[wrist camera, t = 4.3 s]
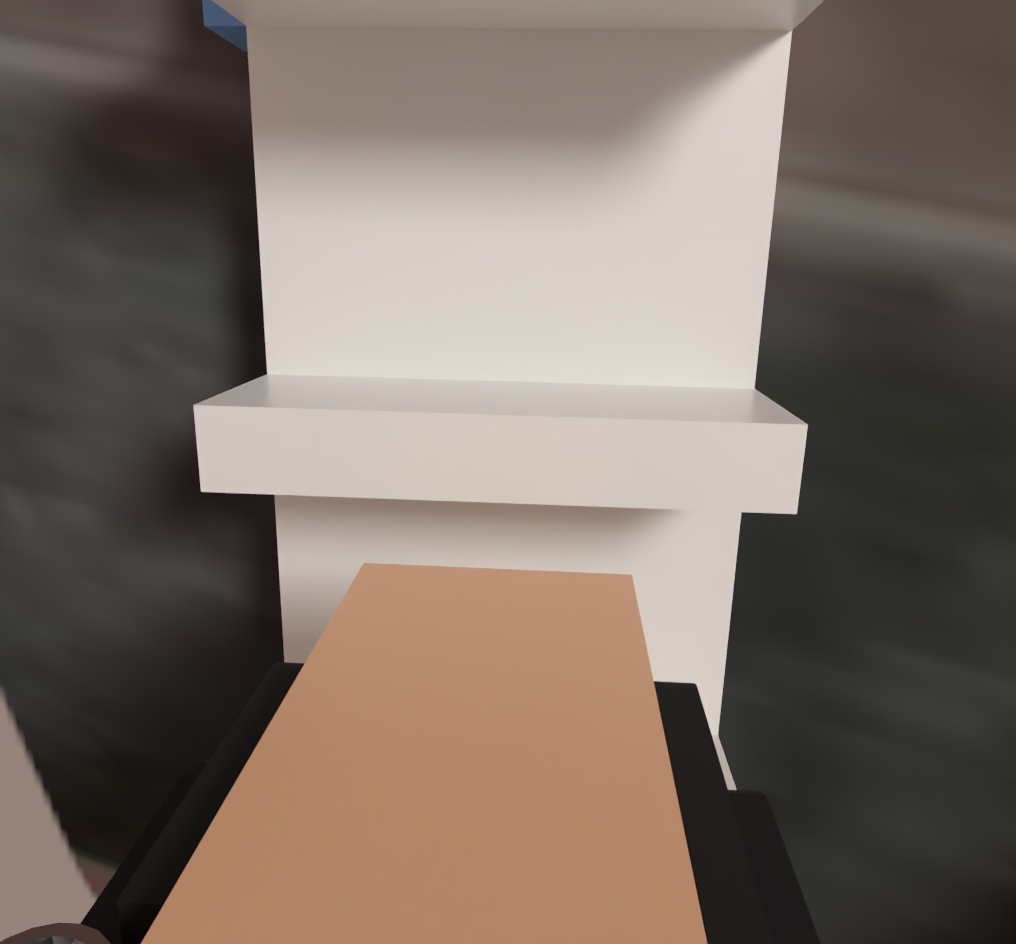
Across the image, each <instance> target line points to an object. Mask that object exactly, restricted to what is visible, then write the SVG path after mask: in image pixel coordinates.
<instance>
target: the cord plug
mask: <svg viewBox="0 0 1016 944" xmlns="http://www.w3.org/2000/svg"><path fill="white" fill-rule="evenodd" d="M141 944H707V939H706V934H705V930H704V925H703V920H702V915H701V910H700V905H699V900H698V895H697V890H696V886H695V881H694V876H693V871H692V866H691V861H690V856H689V851H688V847H687V842H686V837H685V832H684V827H683V822H682V817H681V812H680V808H679V803H678V798H677V793H676V788H675V783H674V778H673V773H672V768H671V764H670V759H669V754H668V749H667V744H666V739H665V734H664V729H663V725H662V720H661V715H660V710H659V705H658V700H657V695H656V690H655V685H654V681H653V676H652V671H651V666H650V661H649V656H648V651H647V646H646V642H645V637H644V632H643V627H642V622H641V617H640V612H639V607H638V603H637V598H636V593H635V588H634V583H633V578H632V575H629V574H606V573H584V572H561V571H538V570H516V569H493V568H470V567H447V566H425V565H402V564H379V563H363V565H362V567H361V568H360V570H359V572H358V573H357V575H356V577H355V578H354V580H353V582H352V584H351V585H350V587H349V589H348V590H347V592H346V594H345V596H344V597H343V599H342V601H341V602H340V604H339V606H338V608H337V609H336V611H335V613H334V614H333V616H332V618H331V620H330V621H329V623H328V625H327V626H326V628H325V630H324V631H323V633H322V635H321V637H320V638H319V640H318V642H317V643H316V645H315V647H314V649H313V650H312V652H311V654H310V655H309V657H308V659H307V661H306V662H305V664H304V666H303V667H302V669H301V671H300V672H299V674H298V676H297V678H296V679H295V681H294V683H293V684H292V686H291V688H290V690H289V691H288V693H287V695H286V696H285V698H284V700H283V702H282V703H281V705H280V707H279V708H278V710H277V712H276V714H275V715H274V717H273V719H272V720H271V722H270V724H269V725H268V727H267V729H266V731H265V732H264V734H263V736H262V737H261V739H260V741H259V743H258V744H257V746H256V748H255V749H254V751H253V753H252V755H251V756H250V758H249V760H248V761H247V763H246V765H245V766H244V768H243V770H242V772H241V773H240V775H239V777H238V778H237V780H236V782H235V784H234V785H233V787H232V789H231V790H230V792H229V794H228V796H227V797H226V799H225V801H224V802H223V804H222V806H221V808H220V809H219V811H218V813H217V814H216V816H215V818H214V819H213V821H212V823H211V825H210V826H209V828H208V830H207V831H206V833H205V835H204V837H203V838H202V840H201V842H200V843H199V845H198V847H197V849H196V850H195V852H194V854H193V855H192V857H191V859H190V860H189V862H188V864H187V866H186V867H185V869H184V871H183V872H182V874H181V876H180V878H179V879H178V881H177V883H176V884H175V886H174V888H173V890H172V891H171V893H170V895H169V896H168V898H167V900H166V902H165V903H164V905H163V907H162V908H161V910H160V912H159V913H158V915H157V917H156V919H155V920H154V922H153V924H152V925H151V927H150V929H149V931H148V932H147V934H146V936H145V937H144V939H143V941H142V943H141Z"/></svg>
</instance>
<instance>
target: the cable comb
mask: <svg viewBox="0 0 1016 944" xmlns="http://www.w3.org/2000/svg"><path fill="white" fill-rule="evenodd" d="M823 1H824V0H202V5H203V19H204V26H205V27H207V28H209V29H210V30H212V31H213V32H215V33H216V34H218V35H219V36H221V37H222V38H224V39H225V40H227V41H229V42H230V43H232V44H233V45H235V46H236V47H238V48H239V49H241V50H242V51H244V52H248V65H249V81H250V98H251V115H252V131H253V148H254V164H255V181H256V198H257V214H258V231H259V247H260V264H261V281H262V297H263V314H264V330H265V347H266V364H267V374H266V375H264V376H261V377H259V378H257V379H254V380H252V381H250V382H247V383H245V384H242V385H240V386H238V387H235V388H233V389H231V390H228V391H226V392H223V393H221V394H219V395H216V396H214V397H212V398H209V399H207V400H204V401H202V402H200V403H197V404H195V405H194V417H195V429H196V440H197V452H198V464H199V475H200V487H201V492H217V493H244V494H271V495H274V496H275V513H276V530H277V546H278V563H279V579H280V596H281V613H282V629H283V646H284V662H288V663H305V662H306V661H307V659H308V657H309V655H310V654H311V652H312V650H313V649H314V647H315V645H316V643H317V642H318V640H319V638H320V637H321V635H322V633H323V631H324V630H325V628H326V626H327V625H328V623H329V621H330V620H331V618H332V616H333V614H334V613H335V611H336V609H337V608H338V606H339V604H340V602H341V601H342V599H343V597H344V596H345V594H346V592H347V590H348V589H349V587H350V585H351V584H352V582H353V580H354V578H355V577H356V575H357V573H358V572H359V570H360V568H361V567H362V565H363V563H379V564H402V565H425V566H447V567H470V568H493V569H516V570H538V571H561V572H584V573H606V574H629V575H632V578H633V583H634V588H635V593H636V598H637V603H638V607H639V612H640V617H641V622H642V627H643V632H644V637H645V642H646V646H647V651H648V656H649V661H650V666H651V671H652V676H653V681H661V682H680V683H695V684H696V685H697V688H698V691H699V694H700V698H701V701H702V704H703V708H704V711H705V714H706V718H707V721H708V724H709V728H710V731H711V734H712V738H713V741H714V744H715V748H716V751H717V755H718V758H719V761H720V765H721V768H722V771H723V775H724V778H725V781H726V785H727V788H728V790H736V787H735V784H734V781H733V778H732V775H731V772H730V769H729V766H728V763H727V760H726V758H725V755H724V752H723V749H722V746H721V743H720V740H719V737H718V729H719V720H720V710H721V701H722V691H723V682H724V672H725V663H726V653H727V644H728V634H729V625H730V615H731V606H732V596H733V587H734V577H735V568H736V558H737V549H738V539H739V530H740V520H741V512H755V513H782V514H797V508H798V500H799V492H800V484H801V476H802V468H803V460H804V452H805V444H806V436H807V428H808V424H806V423H805V422H803V421H802V420H800V419H799V418H797V417H796V416H794V415H793V414H791V413H790V412H788V411H787V410H785V409H784V408H782V407H781V406H779V405H778V404H776V403H775V402H773V401H772V400H770V399H769V398H768V397H766V396H765V395H763V394H762V393H760V392H759V391H757V390H756V389H754V387H755V378H756V368H757V359H758V349H759V340H760V330H761V321H762V311H763V302H764V292H765V283H766V273H767V264H768V254H769V245H770V235H771V226H772V216H773V207H774V197H775V188H776V178H777V168H778V159H779V149H780V140H781V130H782V121H783V111H784V102H785V92H786V83H787V73H788V64H789V54H790V45H791V35H792V30H793V29H794V28H795V27H796V26H797V25H798V24H800V23H801V22H802V21H803V20H804V19H805V18H806V17H807V16H808V15H809V14H810V13H811V12H812V11H813V10H814V9H816V8H817V7H818V6H819V5H820V4H821V3H822V2H823Z"/></svg>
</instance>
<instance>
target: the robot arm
mask: <svg viewBox="0 0 1016 944" xmlns="http://www.w3.org/2000/svg"><path fill="white" fill-rule="evenodd" d="M304 664H305V663H288V662H275V663H274V664H273V665H272V666H271V667H270V669H269V670H268V672H267V673H266V675H265V676H264V678H263V680H262V681H261V683H260V684H259V686H258V687H257V689H256V690H255V692H254V693H253V695H252V696H251V698H250V699H249V701H248V702H247V704H246V705H245V707H244V708H243V710H242V711H241V713H240V714H239V716H238V717H237V719H236V720H235V722H234V723H233V725H232V727H231V728H230V730H229V731H228V733H227V734H226V736H225V737H224V739H223V740H222V742H221V743H220V745H219V746H218V748H217V749H216V751H215V752H214V754H213V755H212V757H211V758H210V760H207V759H200V760H197V761H195V762H193V763H192V764H191V765H190V767H189V768H188V769H187V770H186V771H185V773H184V774H183V776H182V777H181V779H180V780H179V781H178V783H177V784H176V786H175V787H174V789H173V790H172V792H171V793H170V795H169V796H168V797H167V799H166V800H165V802H164V803H163V805H162V806H161V808H160V809H159V810H158V812H157V813H156V815H155V816H154V818H153V819H152V821H151V822H150V823H149V825H148V826H147V828H146V829H145V831H144V832H143V834H142V835H141V837H140V838H139V839H138V841H137V842H136V844H135V845H134V847H133V848H132V850H131V851H130V852H129V854H128V855H127V857H126V858H125V860H124V861H123V863H122V864H121V866H120V867H119V868H118V870H117V871H116V873H115V874H114V876H113V877H112V879H111V880H110V881H109V883H108V884H107V886H106V887H105V889H104V890H103V892H102V893H101V895H100V896H99V897H98V899H97V900H96V902H95V903H94V905H93V906H92V908H91V909H90V911H89V912H88V913H87V915H86V916H85V918H84V919H83V921H82V922H81V924H73V923H55V924H51V925H45V926H40V927H35V928H31V929H29V930H26V931H24V932H21V933H19V934H16V935H14V936H11V937H9V938H6V939H4V940H3V941H1V942H0V944H141V943H142V941H143V939H144V937H145V936H146V934H147V932H148V931H149V929H150V927H151V925H152V924H153V922H154V920H155V919H156V917H157V915H158V913H159V912H160V910H161V908H162V907H163V905H164V903H165V902H166V900H167V898H168V896H169V895H170V893H171V891H172V890H173V888H174V886H175V884H176V883H177V881H178V879H179V878H180V876H181V874H182V872H183V871H184V869H185V867H186V866H187V864H188V862H189V860H190V859H191V857H192V855H193V854H194V852H195V850H196V849H197V847H198V845H199V843H200V842H201V840H202V838H203V837H204V835H205V833H206V831H207V830H208V828H209V826H210V825H211V823H212V821H213V819H214V818H215V816H216V814H217V813H218V811H219V809H220V808H221V806H222V804H223V802H224V801H225V799H226V797H227V796H228V794H229V792H230V790H231V789H232V787H233V785H234V784H235V782H236V780H237V778H238V777H239V775H240V773H241V772H242V770H243V768H244V766H245V765H246V763H247V761H248V760H249V758H250V756H251V755H252V753H253V751H254V749H255V748H256V746H257V744H258V743H259V741H260V739H261V737H262V736H263V734H264V732H265V731H266V729H267V727H268V725H269V724H270V722H271V720H272V719H273V717H274V715H275V714H276V712H277V710H278V708H279V707H280V705H281V703H282V702H283V700H284V698H285V696H286V695H287V693H288V691H289V690H290V688H291V686H292V684H293V683H294V681H295V679H296V678H297V676H298V674H299V672H300V671H301V669H302V667H303V666H304ZM654 685H655V690H656V695H657V700H658V705H659V710H660V715H661V720H662V725H663V729H664V734H665V739H666V744H667V749H668V754H669V759H670V764H671V768H672V773H673V778H674V783H675V788H676V793H677V798H678V803H679V808H680V812H681V817H682V822H683V827H684V832H685V837H686V842H687V847H688V851H689V856H690V861H691V866H692V871H693V876H694V881H695V886H696V890H697V895H698V900H699V905H700V910H701V915H702V920H703V925H704V930H705V934H706V939H707V944H820V941H819V938H818V936H817V933H816V930H815V927H814V925H813V922H812V919H811V916H810V914H809V911H808V908H807V905H806V903H805V900H804V897H803V894H802V892H801V889H800V886H799V883H798V881H797V878H796V875H795V872H794V870H793V867H792V864H791V861H790V859H789V856H788V853H787V850H786V848H785V845H784V842H783V839H782V836H781V834H780V831H779V828H778V825H777V823H776V820H775V817H774V814H773V812H772V809H771V806H770V804H769V802H768V800H767V798H766V795H764V794H763V793H762V792H758V791H741V790H728V788H727V785H726V781H725V778H724V775H723V771H722V768H721V765H720V761H719V758H718V755H717V751H716V748H715V744H714V741H713V738H712V734H711V731H710V728H709V724H708V721H707V718H706V714H705V711H704V708H703V704H702V701H701V698H700V694H699V691H698V688H697V685H696V684H695V683H680V682H661V681H654Z"/></svg>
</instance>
